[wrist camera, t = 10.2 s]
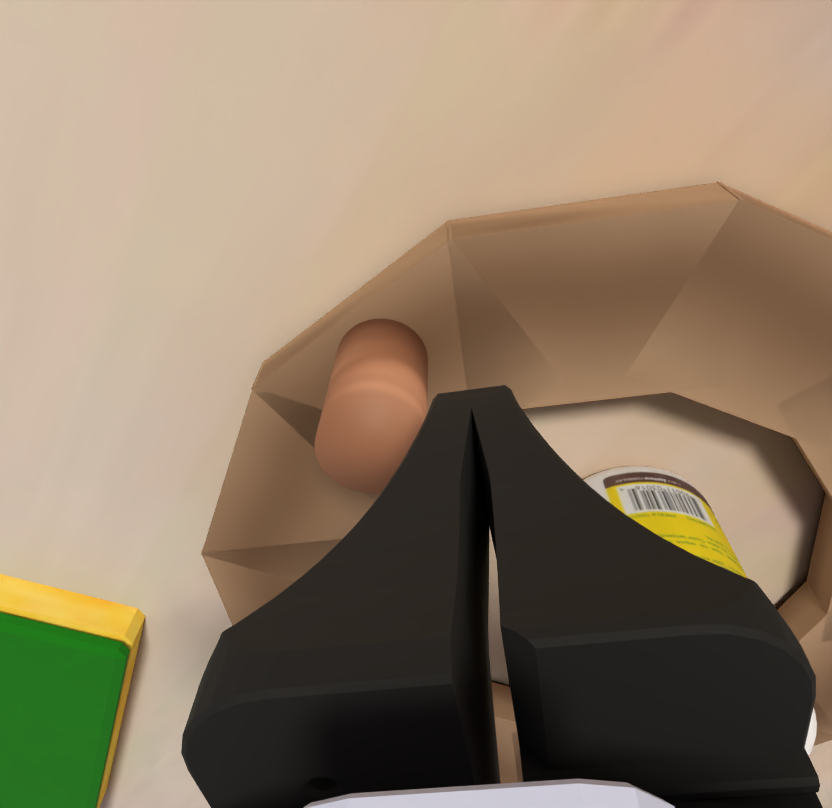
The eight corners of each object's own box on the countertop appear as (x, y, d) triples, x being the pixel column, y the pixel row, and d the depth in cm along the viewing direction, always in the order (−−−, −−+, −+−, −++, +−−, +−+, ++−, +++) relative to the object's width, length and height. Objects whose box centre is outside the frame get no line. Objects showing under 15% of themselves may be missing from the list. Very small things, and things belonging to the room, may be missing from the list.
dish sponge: (150, 602, 27) (126, 655, 25) (109, 783, 34) (88, 835, 32) (-42, 553, 26) (-84, 604, 24) (-43, 750, 33) (-75, 803, 31)
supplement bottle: (575, 598, 25) (647, 923, 17) (514, 494, 23) (562, 815, 14) (727, 548, 24) (892, 877, 15) (680, 431, 21) (847, 747, 13)
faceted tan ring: (798, -49, 14) (969, -55, 10) (1077, 607, 25) (1226, 756, 20) (71, 507, 23) (-20, 643, 19) (499, 821, 33) (509, 959, 29)
